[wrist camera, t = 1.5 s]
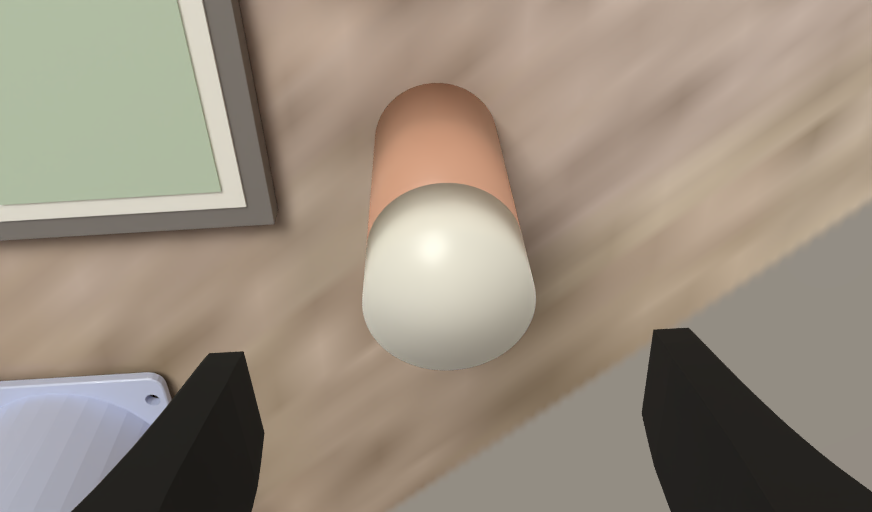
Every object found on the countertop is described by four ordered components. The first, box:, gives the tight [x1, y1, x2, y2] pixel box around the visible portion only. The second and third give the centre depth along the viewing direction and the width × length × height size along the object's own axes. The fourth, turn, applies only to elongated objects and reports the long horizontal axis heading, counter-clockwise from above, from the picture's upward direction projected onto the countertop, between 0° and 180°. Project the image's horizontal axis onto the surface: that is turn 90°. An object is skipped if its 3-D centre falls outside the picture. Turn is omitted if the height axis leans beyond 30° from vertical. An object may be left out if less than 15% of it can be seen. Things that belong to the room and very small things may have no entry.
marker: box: [362, 83, 536, 370], centre depth 19 cm, size 4×4×8 cm
